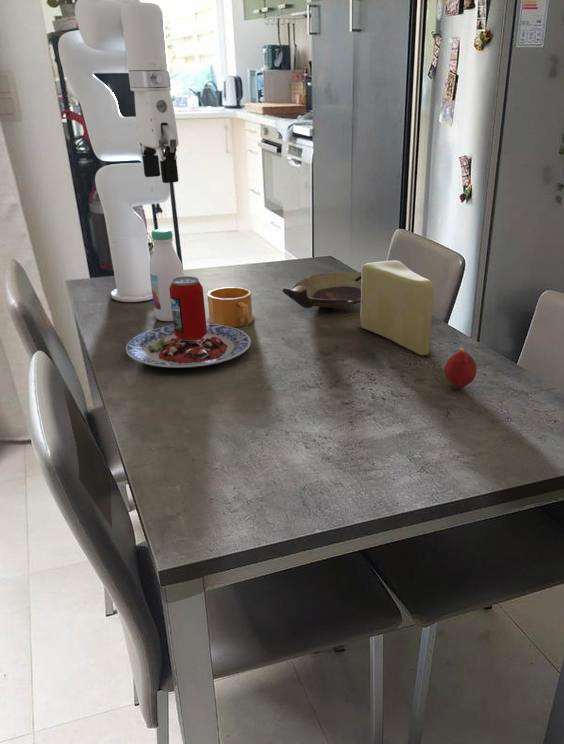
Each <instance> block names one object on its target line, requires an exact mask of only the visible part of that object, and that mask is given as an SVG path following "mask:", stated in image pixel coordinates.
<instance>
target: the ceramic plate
mask: <svg viewBox="0 0 564 744" xmlns="http://www.w3.org/2000/svg"><path fill="white" fill-rule="evenodd" d="M206 327H207V334H206V335H205V336H203V337H202V338H201V339H199V340H195V341H184V340H181V339H180V338H178V337H176V336H175V333H174V325H173V324H172V325H166V326H162V327H157V328H153V329H151V330H147V331H144V332H142V333H140V334H138V335H136V336H134V337H133V338H132V339H131V340H129V341H128V343H127V344H126V346H125V352H126V354H127V355H128V356H129V358H131V359H132V360H134V361H136V362H138V363H141V364H145V365H147V366H148V365H149V366H153V367H160V368H173V369H174V368H175V369H176V368H177V369H179V368H183V369H184V368H197V367H205V366H210V365H211V366H212V365H215V364H219V363H224V362H226V361H230V360H232V359H235V358H236V357H237V358H238V356H240V355H242V354H244V353H245V352H247V350H249V348H250V346H251V344H252V343H251V342H252V341H251V338H250V336H249V335H248V333H246V332H244V331H243V330H241V329H238V328H236V327H229V326H223V325H218V324H212V323H206Z"/></svg>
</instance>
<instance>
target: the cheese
mask: <svg viewBox="0 0 564 744" xmlns="http://www.w3.org/2000/svg"><path fill="white" fill-rule="evenodd" d="M361 272H362V277H361V282H360V283H361V302H360V327H361V329H363V330H366V331H369V332H371V333H374V334H376V335H377V336H381V337H383V338H386V339H388V340H390V341H392V342H394V343H395V344H397V345H399V346H401V347H403V348H405V349H407V350H409V351H410V352H411V351H412V352H413V353H416V354H417V355H419V356H428V355H429V354H430V347H431V346H430V344H431V331H432V322H433V321H432V319H433V306H434V305H433V303H434V283H433V282H432V281H431V280H430V279H428V278H426V277H423V276H421V275H420V274H418V273H415V272H414V271H413V270H412V269H410V268H409V267H408V266H406V265H405V264H404V263H402V262H401V261H400V260H396V259H395V260H384V261H375V262H374V261H373V262H367V263H365V264H363V265H362V266H361Z"/></svg>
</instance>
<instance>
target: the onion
mask: <svg viewBox="0 0 564 744" xmlns="http://www.w3.org/2000/svg"><path fill="white" fill-rule="evenodd" d="M477 368H478V367H477V364H476V362H475V360H474V358H473V357H472V356H471V355H470V354H469V353H467V351H466V350H465V349H464V348H463V347H459V348H458V351H457V352H455V353H454V354H452V355H451V356H450V357H449V358H448V360H446V363H445V366H444V376H445V378H446V380H447V381H448V382H449V383H450V384H451V385H452V386H453V387H454V388H455V389H456V390H460V389H462V388H464V387H466V386H468V385H470V384H472V382H473V381H474V379H475V377H476V375H477V372H478V371H477Z"/></svg>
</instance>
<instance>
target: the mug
mask: <svg viewBox="0 0 564 744" xmlns="http://www.w3.org/2000/svg"><path fill="white" fill-rule="evenodd" d="M207 307H208V318H209V324H218V325H223V326H229V327H232V328H236V327H242V326H248V325H250V324H251V323H253V318H254V316H253V299H252V291H251V290H249V289H248V288H245V287H238V286H225V287H219V288H214V289H212V290H210V291H208V292H207Z"/></svg>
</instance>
